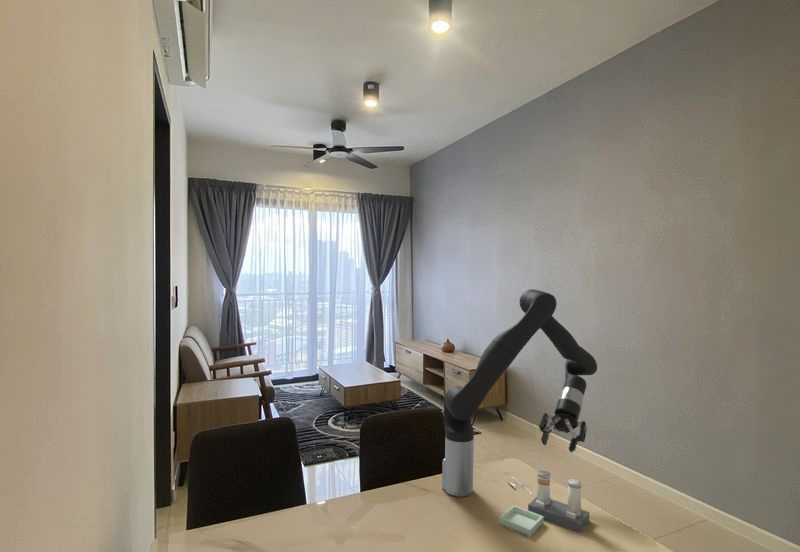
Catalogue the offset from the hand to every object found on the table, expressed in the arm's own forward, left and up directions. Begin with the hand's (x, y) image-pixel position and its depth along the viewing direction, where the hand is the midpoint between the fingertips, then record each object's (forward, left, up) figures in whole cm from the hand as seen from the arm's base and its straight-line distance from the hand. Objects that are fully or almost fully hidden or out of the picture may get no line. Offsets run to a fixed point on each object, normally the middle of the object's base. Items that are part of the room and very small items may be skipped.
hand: (557, 447), depth 137 cm
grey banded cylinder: (0, -11, -14) cm, 17 cm away
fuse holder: (+5, -11, -16) cm, 20 cm away
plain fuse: (+9, -11, -14) cm, 20 cm away
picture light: (-13, -1, -17) cm, 21 cm away
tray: (-2, -22, -16) cm, 27 cm away
